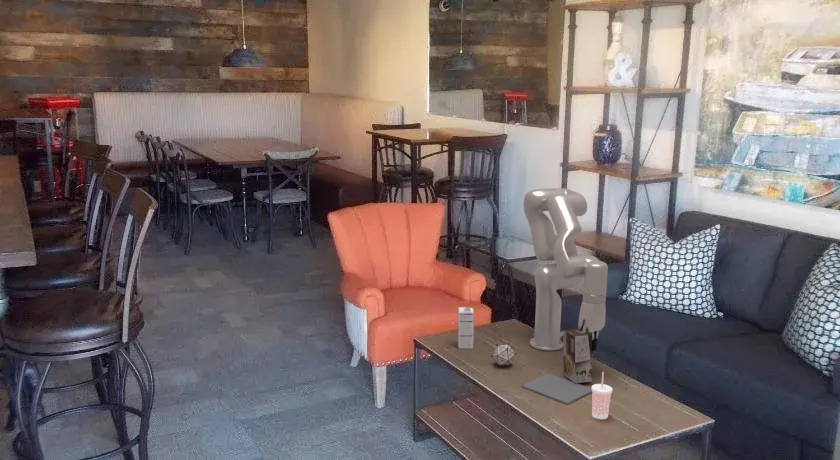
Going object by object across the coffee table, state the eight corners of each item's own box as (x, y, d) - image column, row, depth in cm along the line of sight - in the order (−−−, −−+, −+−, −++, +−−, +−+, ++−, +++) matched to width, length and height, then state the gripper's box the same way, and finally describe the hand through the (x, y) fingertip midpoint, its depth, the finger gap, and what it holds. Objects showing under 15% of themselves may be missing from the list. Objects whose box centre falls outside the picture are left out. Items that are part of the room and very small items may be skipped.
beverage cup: (605, 410, 222) (608, 367, 219) (613, 419, 216) (617, 375, 214) (586, 411, 221) (589, 368, 218) (594, 421, 215) (597, 376, 213)
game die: (507, 376, 256) (515, 362, 249) (485, 366, 257) (493, 351, 250) (514, 358, 262) (522, 343, 255) (492, 348, 263) (500, 333, 256)
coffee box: (593, 381, 241) (592, 334, 239) (575, 383, 240) (574, 336, 238) (580, 373, 250) (579, 327, 248) (563, 375, 249) (562, 329, 247)
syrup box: (473, 348, 272) (474, 311, 269) (457, 348, 272) (458, 311, 269) (472, 343, 278) (473, 307, 275) (457, 343, 278) (458, 306, 275)
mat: (549, 375, 249) (549, 373, 249) (594, 391, 236) (594, 389, 236) (521, 387, 238) (521, 385, 238) (567, 404, 226) (567, 403, 226)
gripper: (596, 291, 252) (593, 341, 255) (572, 299, 242) (569, 351, 245) (615, 295, 247) (612, 347, 250) (591, 304, 236) (588, 358, 240)
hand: (590, 349), depth 248 cm, fingers closed
